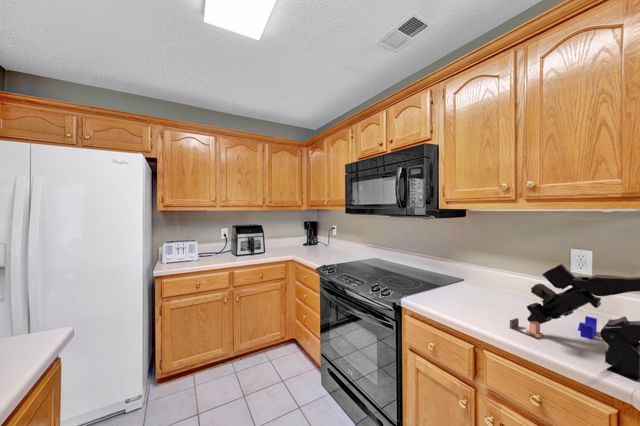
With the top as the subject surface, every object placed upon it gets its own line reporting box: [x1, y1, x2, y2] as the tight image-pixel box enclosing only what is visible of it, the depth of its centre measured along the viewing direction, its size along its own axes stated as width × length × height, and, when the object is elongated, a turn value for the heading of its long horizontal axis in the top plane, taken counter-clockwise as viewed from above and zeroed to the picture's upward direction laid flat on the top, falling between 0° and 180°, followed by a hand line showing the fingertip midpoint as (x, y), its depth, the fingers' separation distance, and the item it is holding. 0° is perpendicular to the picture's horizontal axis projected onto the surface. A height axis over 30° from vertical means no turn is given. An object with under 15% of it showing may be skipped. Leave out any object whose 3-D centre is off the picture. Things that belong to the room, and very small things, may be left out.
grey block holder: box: [509, 317, 540, 340], centre depth 98 cm, size 10×5×4 cm, turn 24°
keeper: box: [525, 312, 544, 339], centre depth 96 cm, size 4×3×9 cm
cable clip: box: [577, 315, 598, 341], centre depth 99 cm, size 12×4×6 cm, turn 128°
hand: (530, 319), depth 97 cm, fingers closed on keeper, 3 cm apart
